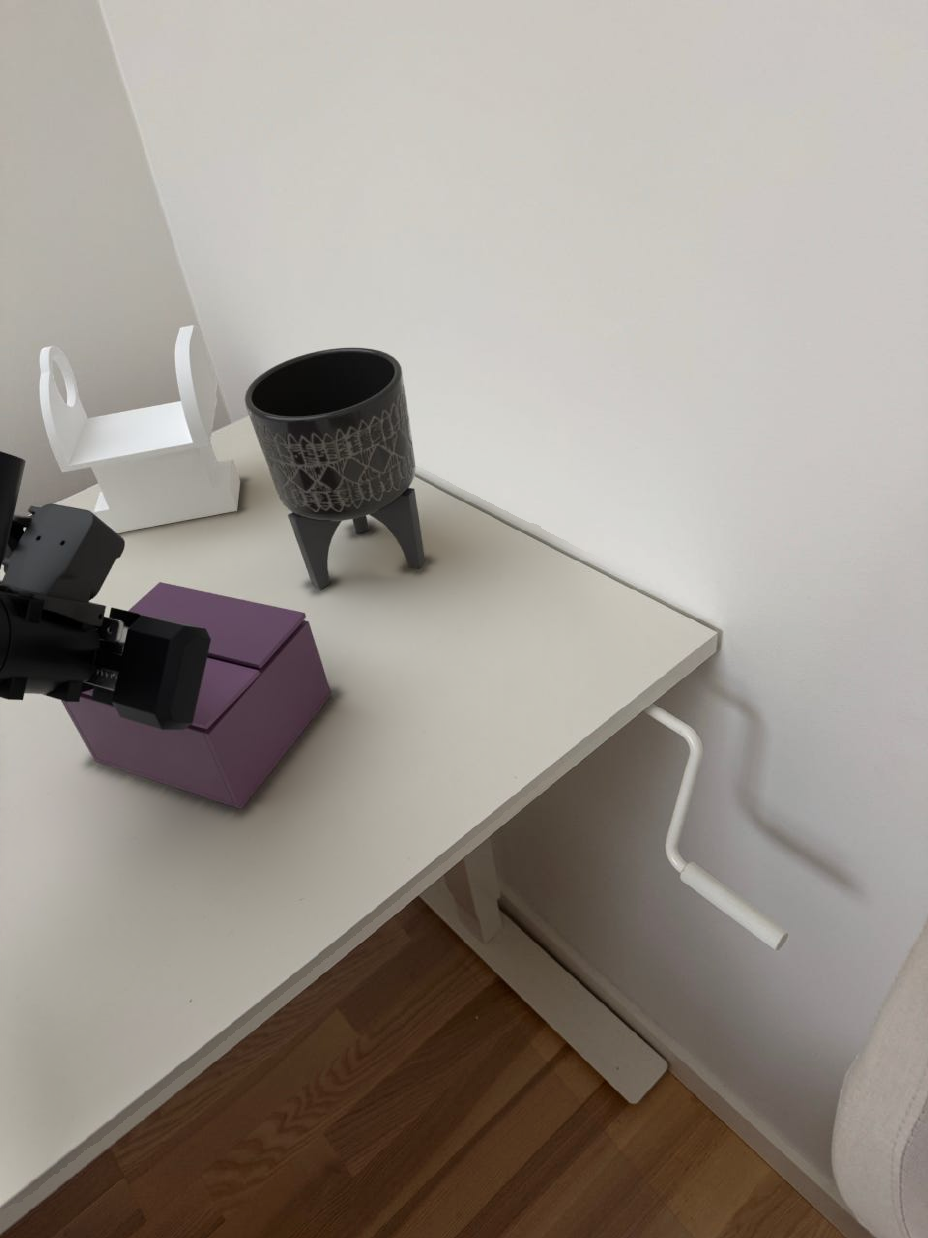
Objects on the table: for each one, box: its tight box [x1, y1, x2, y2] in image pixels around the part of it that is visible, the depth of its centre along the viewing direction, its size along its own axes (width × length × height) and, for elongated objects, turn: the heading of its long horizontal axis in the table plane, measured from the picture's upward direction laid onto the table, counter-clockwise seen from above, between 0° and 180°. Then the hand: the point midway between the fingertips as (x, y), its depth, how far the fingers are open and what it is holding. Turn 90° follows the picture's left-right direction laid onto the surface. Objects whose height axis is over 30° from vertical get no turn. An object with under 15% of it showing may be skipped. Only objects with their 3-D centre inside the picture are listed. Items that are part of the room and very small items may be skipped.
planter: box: [244, 346, 426, 590], centre depth 83 cm, size 13×13×18 cm
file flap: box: [83, 658, 260, 729], centre depth 66 cm, size 6×14×1 cm, turn 64°
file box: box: [60, 581, 332, 810], centre depth 71 cm, size 12×14×8 cm
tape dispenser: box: [39, 324, 241, 534], centre depth 96 cm, size 14×13×18 cm
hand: (167, 658), depth 67 cm, fingers closed, pressing on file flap
